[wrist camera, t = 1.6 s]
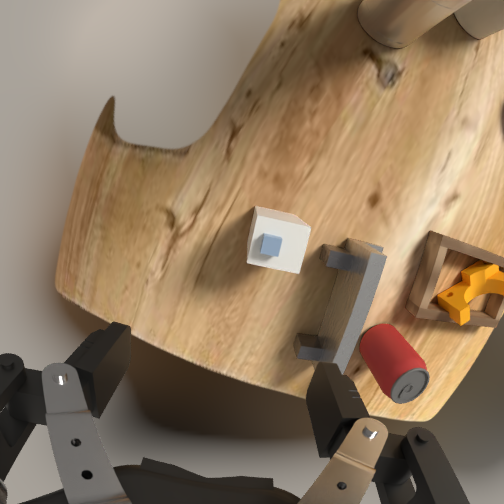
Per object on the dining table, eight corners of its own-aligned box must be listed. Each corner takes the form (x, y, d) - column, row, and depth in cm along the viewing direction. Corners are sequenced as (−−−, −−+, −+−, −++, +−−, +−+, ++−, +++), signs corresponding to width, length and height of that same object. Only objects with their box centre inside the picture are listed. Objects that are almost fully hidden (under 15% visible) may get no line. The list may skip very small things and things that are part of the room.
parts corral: (429, 230, 37) (443, 235, 33) (506, 258, 38) (518, 264, 35) (404, 307, 40) (415, 317, 36) (485, 320, 41) (496, 327, 37)
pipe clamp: (486, 255, 38) (511, 266, 31) (487, 278, 39) (511, 290, 32) (435, 285, 39) (459, 301, 32) (438, 308, 40) (460, 325, 33)
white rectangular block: (255, 205, 36) (257, 216, 25) (294, 214, 36) (314, 229, 25) (247, 241, 37) (246, 267, 26) (286, 250, 37) (301, 278, 27)
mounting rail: (326, 232, 37) (345, 246, 29) (380, 245, 37) (408, 261, 30) (290, 353, 41) (298, 387, 33) (340, 359, 41) (355, 392, 34)
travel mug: (461, 34, 29) (526, 0, 11) (446, -1, 27) (501, -41, 9) (489, 43, 29) (551, 19, 11) (475, 9, 27) (530, -21, 9)
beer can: (349, 348, 41) (376, 399, 29) (377, 314, 40) (414, 358, 28) (377, 364, 42) (407, 411, 30) (403, 332, 41) (441, 374, 29)
